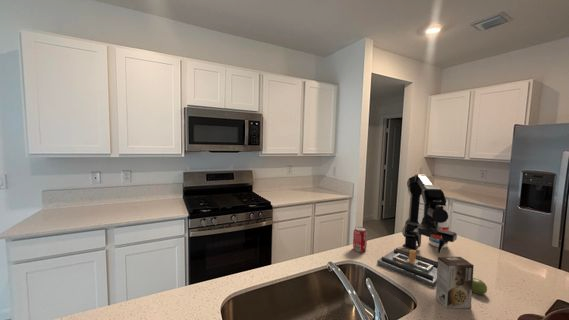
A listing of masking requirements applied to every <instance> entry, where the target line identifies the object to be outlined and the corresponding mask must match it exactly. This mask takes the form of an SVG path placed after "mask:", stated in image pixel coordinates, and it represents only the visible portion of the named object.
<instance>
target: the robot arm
mask: <svg viewBox="0 0 569 320" xmlns="http://www.w3.org/2000/svg"><path fill="white" fill-rule="evenodd" d="M406 186H407V190H408V191H409V193H410V198H409V209H408V210H409V213H408V218H407V220H406V221H405V223H404V226H403V228H402V229H401V230H402V231H401V233H402V234H401V235H402V236H403V237H404V238H405V239H404V244H402V247H404V248H407V249H410V250H411V249H412V250H415V251H416V249H418V248H421V245H422V236H424V237H426V238H429V237H430V236H431V235H439V236H441V237H442V238H441V239H439V242H440V243H439V247H437V248H438V250H437V252H438V254H440V253H441V252H442V250H443V249H444V248H443V246H444V245H445V243H446V242H448V243H453V242H455V241H456V240H457V238H458V235H457V233H456V232H455V231H447V230H446V231H444V232H441V231H438V229H439V227H438V223H443V222H445V221H446V220H447V219H448V220H449V217H448V213H447V212H446V211H445V210H444V209H443V206H447V199H445V198H446V195H445V193H444V191H443V189H442V188H441V187H439V186H437V185H434V184H433V183H432V182H431V181H430V179H429V178H428V175H427V174H424V173H420V174H419V173H416V174H415V175H413V176H411V177H409V178H408V179H407V181H406ZM421 197H422V198H421ZM421 199H422V202H423V204H424V206H423V216H422V219H421V222H420V223H419V214H420V213H419V212H420V202H421Z"/></svg>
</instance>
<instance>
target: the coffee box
mask: <svg viewBox="0 0 569 320" xmlns="http://www.w3.org/2000/svg"><path fill="white" fill-rule="evenodd" d="M437 262H438V266H437V283H436V285H435V286H436V287H435V299H437V300H438V302H440V303H441V305H442V306H444V307H445V308H446V309H471V308H472V297H473V291H472V283H473V278H474V264H472V263H471V262H470V261H468V260H467V259H466V258H463V257H462V256H438V257H437Z"/></svg>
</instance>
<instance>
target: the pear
mask: <svg viewBox="0 0 569 320" xmlns="http://www.w3.org/2000/svg"><path fill="white" fill-rule="evenodd" d="M487 292H488V287H487V284H486V283H485V282H484V281H483V280H481V279H479V278H475V277H473V283H472V293H474V294H477V295H485V294H486V293H487Z"/></svg>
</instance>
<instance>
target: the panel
mask: <svg viewBox="0 0 569 320" xmlns="http://www.w3.org/2000/svg"><path fill="white" fill-rule="evenodd" d="M382 257H385V258H387V259H390V260H393V261H395V262H398V263H400V264H403V265H406V266H408V267H411V268H413V269H416V270H419V271H421V272H424V273H426V274H429V275H432V276H433V280H432V279H430V278H427V277H425V276H422V275H420V274H417V273H415V272H412V271H410V270H407V269H405V268H402V267H400V266H397V265H394V264H392V263H389V262H387V261H384V260H382V259H381V258H382ZM382 257H380V258H379V259H377V261H376V263H377V265H378V266H380V267H382V268H386V269H388V270H390V271H392V272H395V273H398V274H400V275H402V276H405V277H406V278H407V277H408V278H409V279H412V280H414V281H415V282H416V281H417V282H419V283H421V284H423V285H426V286H428V287H431V288H434V287H435V286H436V283H437V267H436V266H433V265H430V264H428V263H425V262H422V261H419V260H417V259H416V261H418V264H417V265H416V264H414V263H411V262H408V261H407V260H408V259H409V257H408V256H405V255H402V254H400V253H396V252H394V249H393V250H391V251H390V252H389V253H387V254H385V255H384V256H382Z"/></svg>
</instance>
